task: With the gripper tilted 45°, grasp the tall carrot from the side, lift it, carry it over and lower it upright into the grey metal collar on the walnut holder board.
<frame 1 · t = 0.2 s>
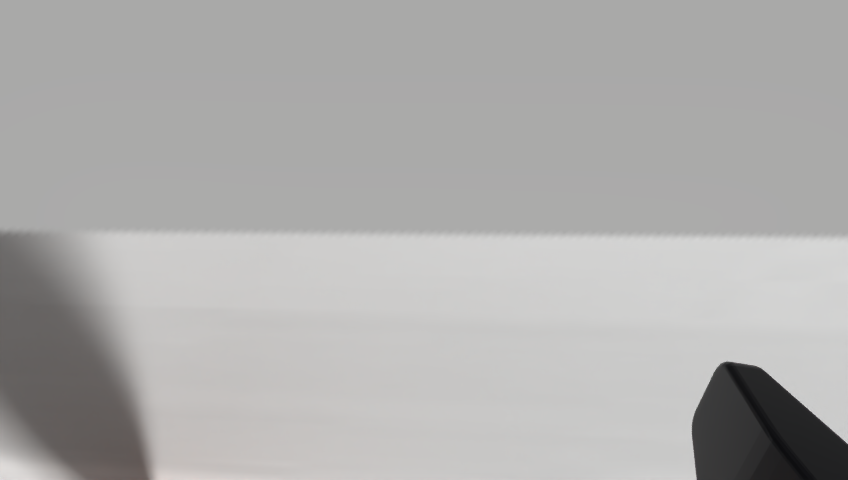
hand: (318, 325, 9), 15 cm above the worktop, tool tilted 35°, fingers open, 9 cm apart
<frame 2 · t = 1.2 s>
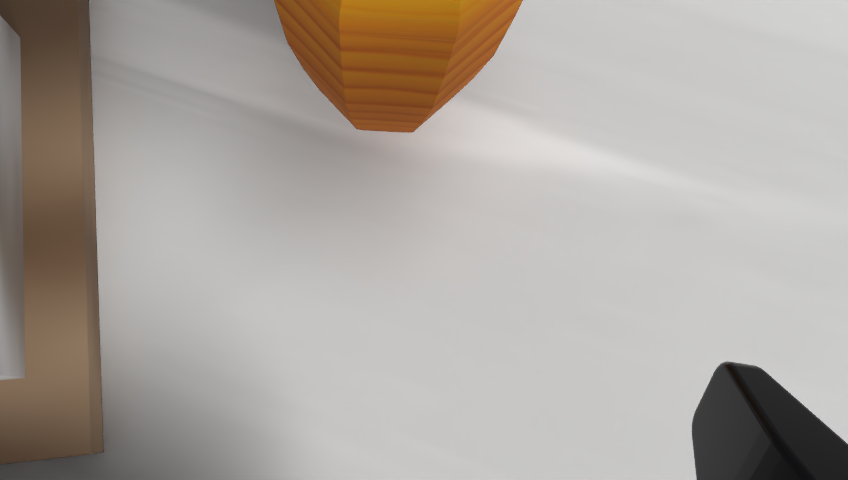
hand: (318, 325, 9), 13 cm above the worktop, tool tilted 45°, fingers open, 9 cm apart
carrot: (382, 115, 23), on the worktop
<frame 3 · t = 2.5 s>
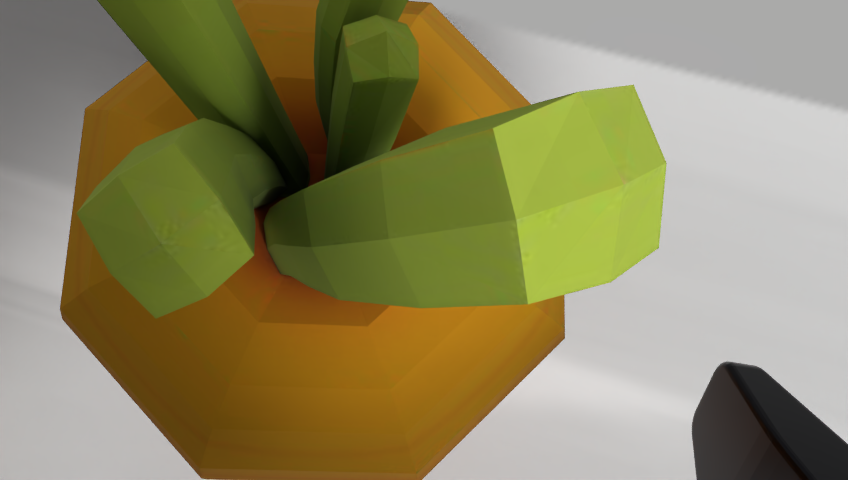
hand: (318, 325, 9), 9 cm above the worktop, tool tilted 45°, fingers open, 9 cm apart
carrot: (341, 336, 18), on the worktop
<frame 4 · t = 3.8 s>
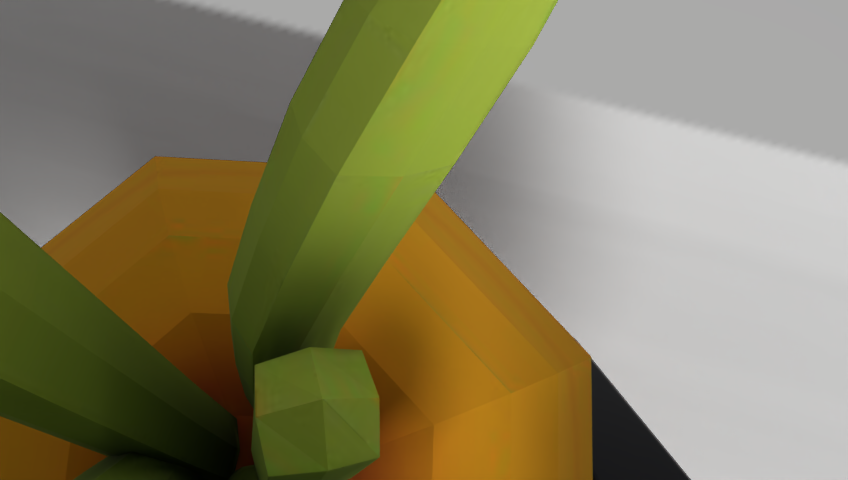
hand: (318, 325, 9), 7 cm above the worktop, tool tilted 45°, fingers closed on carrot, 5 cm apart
carrot: (322, 435, 16), on the worktop, touching gripper
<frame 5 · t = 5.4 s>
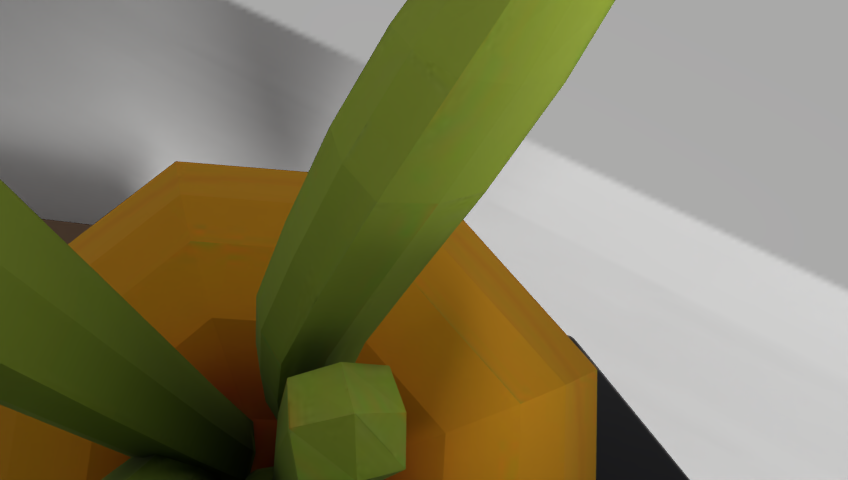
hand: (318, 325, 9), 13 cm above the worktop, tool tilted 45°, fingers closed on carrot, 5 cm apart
carrot: (318, 432, 16), point 5 cm above the worktop, touching gripper
when the fingers open (9 cm above the worktop, at t = 7.4 s): carrot stays where it is, resting on holder.
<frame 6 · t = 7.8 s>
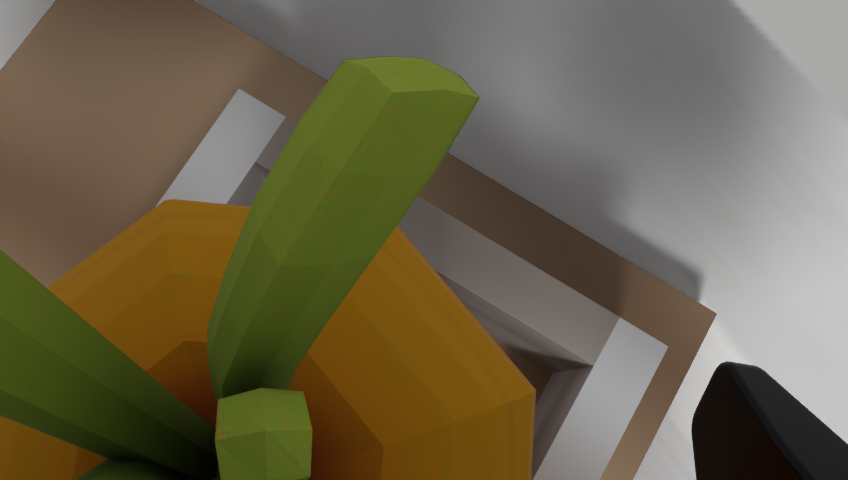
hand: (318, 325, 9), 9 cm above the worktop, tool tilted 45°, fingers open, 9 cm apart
carrot: (322, 439, 17), point 1 cm above the worktop, touching holder
holder: (324, 431, 18), on the worktop
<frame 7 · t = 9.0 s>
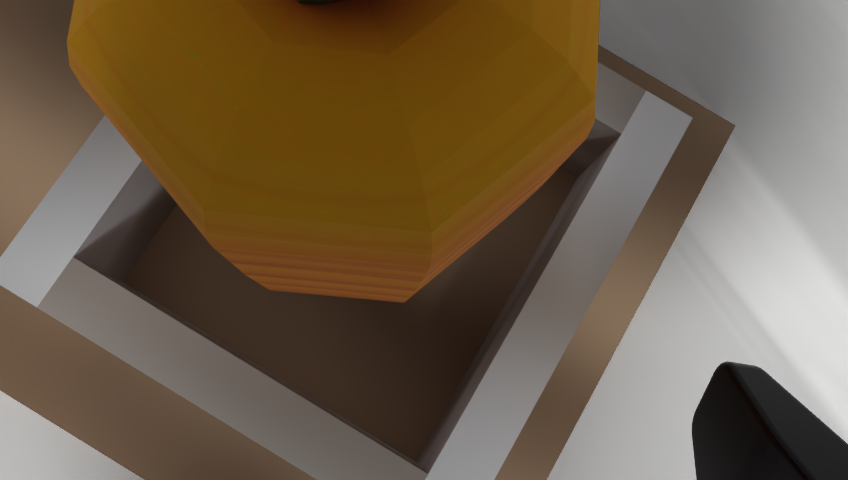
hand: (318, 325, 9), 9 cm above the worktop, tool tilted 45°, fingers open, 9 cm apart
carrot: (357, 235, 17), point 1 cm above the worktop, touching holder
holder: (358, 237, 18), on the worktop
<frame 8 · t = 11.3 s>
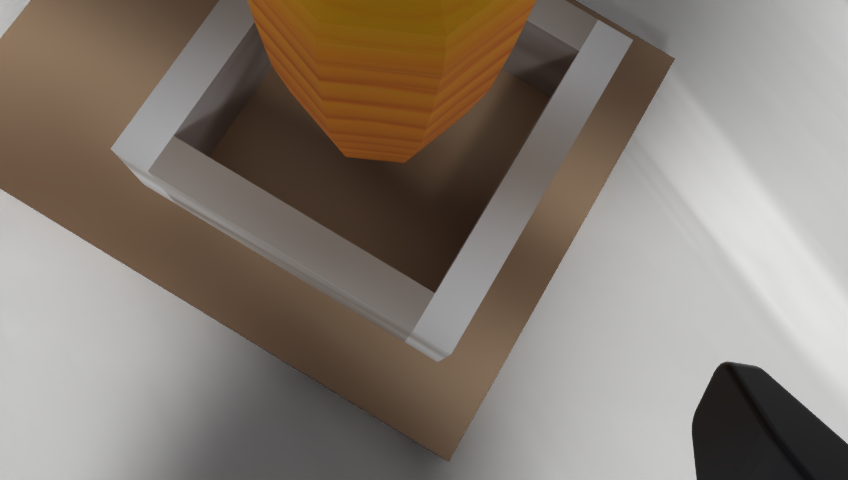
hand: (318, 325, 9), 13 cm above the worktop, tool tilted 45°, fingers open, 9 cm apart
carrot: (378, 140, 22), point 1 cm above the worktop, touching holder
holder: (378, 145, 23), on the worktop
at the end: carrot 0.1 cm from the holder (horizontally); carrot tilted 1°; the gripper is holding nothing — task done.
